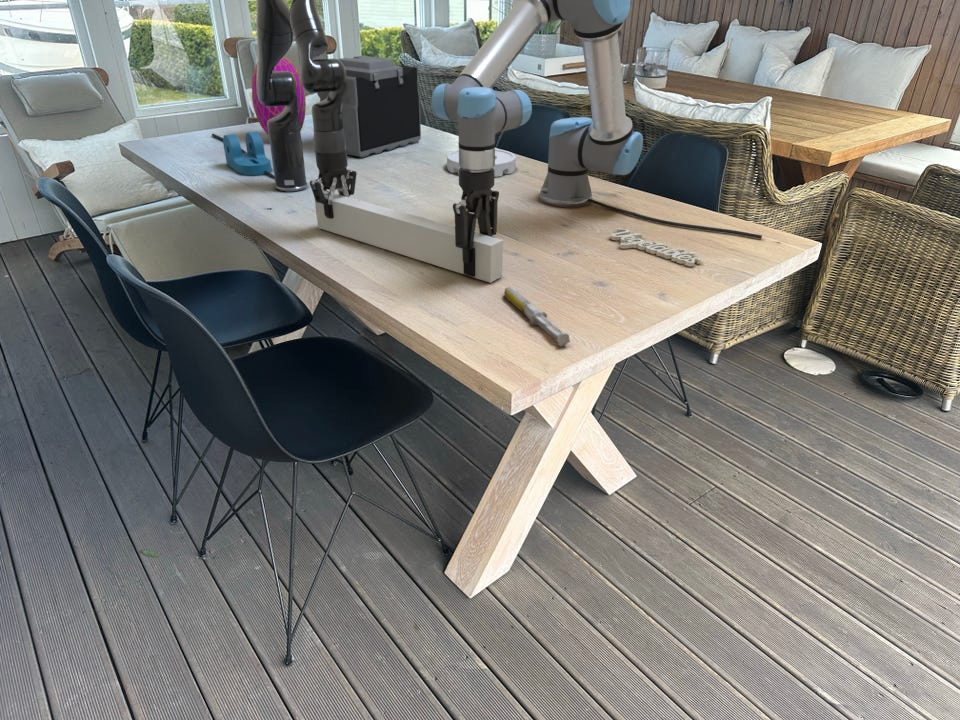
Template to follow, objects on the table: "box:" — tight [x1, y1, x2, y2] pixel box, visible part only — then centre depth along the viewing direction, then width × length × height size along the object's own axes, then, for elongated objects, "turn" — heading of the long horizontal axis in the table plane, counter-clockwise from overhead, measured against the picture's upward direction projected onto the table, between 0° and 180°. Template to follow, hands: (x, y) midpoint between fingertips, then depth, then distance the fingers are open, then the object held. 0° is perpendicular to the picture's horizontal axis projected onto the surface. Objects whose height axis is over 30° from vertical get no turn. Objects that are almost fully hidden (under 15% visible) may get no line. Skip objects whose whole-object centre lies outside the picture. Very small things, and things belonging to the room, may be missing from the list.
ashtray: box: [446, 148, 517, 178], centre depth 232 cm, size 23×23×4 cm
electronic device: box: [316, 55, 422, 159], centre depth 250 cm, size 37×22×30 cm, turn 144°
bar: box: [313, 193, 504, 284], centre depth 164 cm, size 56×4×9 cm, turn 53°
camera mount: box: [222, 131, 272, 176], centre depth 226 cm, size 18×10×10 cm, turn 35°
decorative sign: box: [610, 227, 702, 267], centre depth 169 cm, size 26×1×10 cm
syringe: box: [504, 285, 571, 348], centre depth 136 cm, size 25×4×3 cm, turn 21°
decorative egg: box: [251, 56, 307, 136], centre depth 257 cm, size 19×19×30 cm
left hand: (337, 215), depth 176 cm, fingers closed on bar, 4 cm apart
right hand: (476, 270), depth 155 cm, fingers closed on bar, 4 cm apart
